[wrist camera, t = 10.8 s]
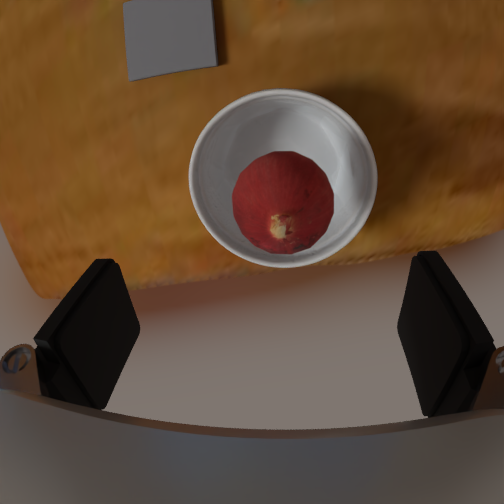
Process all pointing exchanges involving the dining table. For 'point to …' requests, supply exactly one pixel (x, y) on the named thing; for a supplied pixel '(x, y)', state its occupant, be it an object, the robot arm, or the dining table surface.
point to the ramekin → (283, 139)
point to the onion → (283, 202)
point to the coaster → (169, 36)
